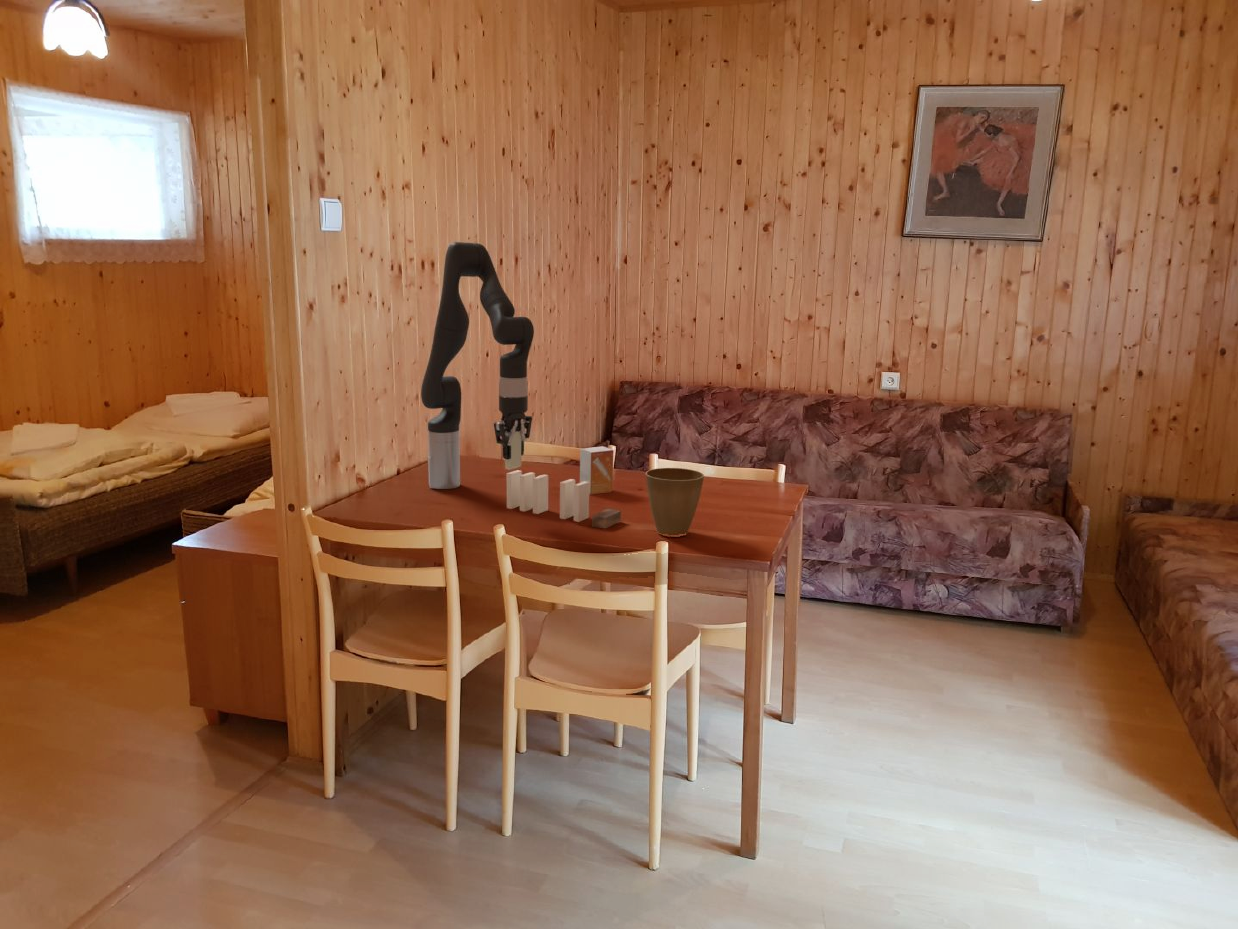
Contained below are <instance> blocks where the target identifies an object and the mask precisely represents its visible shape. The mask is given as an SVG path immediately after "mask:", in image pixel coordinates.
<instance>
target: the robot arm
mask: <svg viewBox="0 0 1238 929" xmlns="http://www.w3.org/2000/svg"><path fill="white" fill-rule="evenodd" d="M444 259H445V260H444V268H443V279H442V289H441V294H440V301H439V307H438V311H437V312H438V313H437V316H436V321H435V328H434V332H433V339H432V344H431V350H430V355H429V360H428V363H427V366H426V370H425V373H424V376H423V380H422V383H421V384H422V385H421V391H420V395H421V396H420V397H421V401H422V404H423V407H425V408H427V409H428V410H429V409H431V410H433V409H441V411H440V413H439V414H437V415H435V417H433V418H431V419H430V420H429V421H428V422H427V439H428V441H427V443H428V444H427V446H428V454H427V456H428V457H427V458H428V459H427V460H428V462H427V467H428V485H429V489H437V490H451V489H456V488H458V487H460V486H461V460H460V458H461V457H460V456H461V455H460V424H461V416H462V388H461V387H462V386H461V384H460V382H459V381H460V380H458V378H457V377H455V376H452V375H450V376H449V375H448V376H444V375H445V372H446V370H447V368H448V367H449V365H450V363H451V362H452V361H453V360H454V359H455V358H456V356H457V355H458V353H460V351H461V350H462V348H463V347H464V345H465V344H466V341H467V337H468V336H467V335H468V332H469V326H470V318H469V317H470V316H469V314H468V311H467V309H466V307H465V304H464V302H463V300H462V297H461V295H460V289H459V288H460V280H461V277H469V278H470V277H471V278H476V277H477V278H479V279H480V280H481V282H482V285H481V287H480V288H481V289H480V292H479V301H480V304H481V305H482V308H483V310H484V311H485V312H486V314H487V316H488V318H489V321H490V325H491V331H492V336H493V338H494V339H493V340H495V341H496V342H497V344H500V345H503V346H504V345H505V346H508V345H510V346H511V345H515V346H514V348H513V349H512V351H510V352H508V353H505V354H502V355H501V356H500V358H499V383H498V410H499V412H500V413H501V414H502V415H501V418H500V421H498V422H497V421H494V423H493V428H494V429H493V430H494V434H495V440H496V444H500V445H501V446H502V448H501V449H502V451H501V452H502V458H503V459H504V460H505V459H508V460H509V459H511V441H512V438H513V437H514V434H515V432H516V431H518V432H519V431H520V430H521V432H520V435H521V439H522V442H521V457H522V456H524V454H525V441H526V439H529V438H530V436H531V428H532V422H533V416H531V415H525V414H526V413H527V412H528V411H529V410H528V409H529V406H528V405H529V404H528V402H529V401H528V400H529V396H528V393H529V391H528V390H529V385H528V363H527V362H528V358H529V356H530V355H529V354H530V350H531V347H532V343H533V340H534V336H535V326H534V324H533V322H532V321H531V319H530V318H528V317H527V316H515V314H516V311H515V310H516V309H515V306H514V304H513V303H512V301H511V300H510V298H509V297H508V295H507V293H506V292H505V290H504V288H503V287H502V285H501V282H500V280H499V277H498V274H497V272H496V268H495V266H494V264H493V260H492V258H491V256H490V253H489V251H488V250H487V248H486V247H485V245H483V244H481V243H477V242H460V241H456V242H455V241H454V242H451V243H450V244H449V246H448V247H447V250H446V253H445V258H444ZM505 432H510V433H505ZM506 436H508V440H506Z"/></svg>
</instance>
